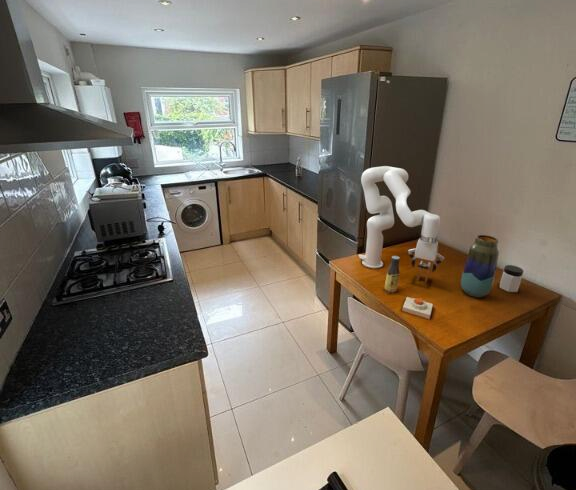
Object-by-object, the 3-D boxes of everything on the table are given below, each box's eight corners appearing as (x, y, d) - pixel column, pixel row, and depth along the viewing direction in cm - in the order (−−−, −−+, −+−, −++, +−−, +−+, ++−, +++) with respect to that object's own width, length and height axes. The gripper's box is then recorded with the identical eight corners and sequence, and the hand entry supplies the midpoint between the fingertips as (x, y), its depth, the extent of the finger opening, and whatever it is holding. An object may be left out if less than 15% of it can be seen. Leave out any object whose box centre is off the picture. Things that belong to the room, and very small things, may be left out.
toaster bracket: (428, 288, 163) (432, 268, 158) (412, 284, 166) (415, 265, 162) (430, 279, 171) (434, 261, 167) (415, 276, 174) (419, 257, 170)
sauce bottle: (390, 295, 155) (395, 261, 148) (381, 289, 161) (385, 256, 154) (399, 292, 158) (404, 258, 151) (390, 286, 163) (395, 253, 157)
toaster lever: (428, 270, 156) (428, 266, 155) (417, 268, 158) (418, 263, 158) (429, 269, 165) (430, 264, 165) (419, 266, 168) (420, 262, 167)
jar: (521, 290, 160) (528, 270, 156) (512, 294, 157) (518, 274, 153) (504, 282, 168) (509, 263, 164) (495, 286, 165) (500, 266, 160)
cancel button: (413, 303, 143) (414, 300, 143) (415, 299, 146) (415, 296, 146) (422, 306, 141) (422, 302, 141) (423, 302, 144) (423, 299, 144)
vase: (494, 295, 156) (509, 240, 145) (480, 303, 149) (495, 246, 138) (467, 283, 167) (480, 231, 156) (453, 290, 160) (465, 236, 149)
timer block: (402, 310, 144) (403, 303, 143) (406, 300, 152) (407, 293, 151) (429, 319, 138) (430, 311, 137) (432, 307, 146) (433, 300, 145)
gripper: (448, 239, 151) (442, 269, 157) (411, 232, 159) (407, 261, 165) (446, 244, 145) (440, 275, 151) (409, 237, 153) (404, 267, 159)
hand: (423, 268), depth 158 cm, fingers open, 9 cm apart
